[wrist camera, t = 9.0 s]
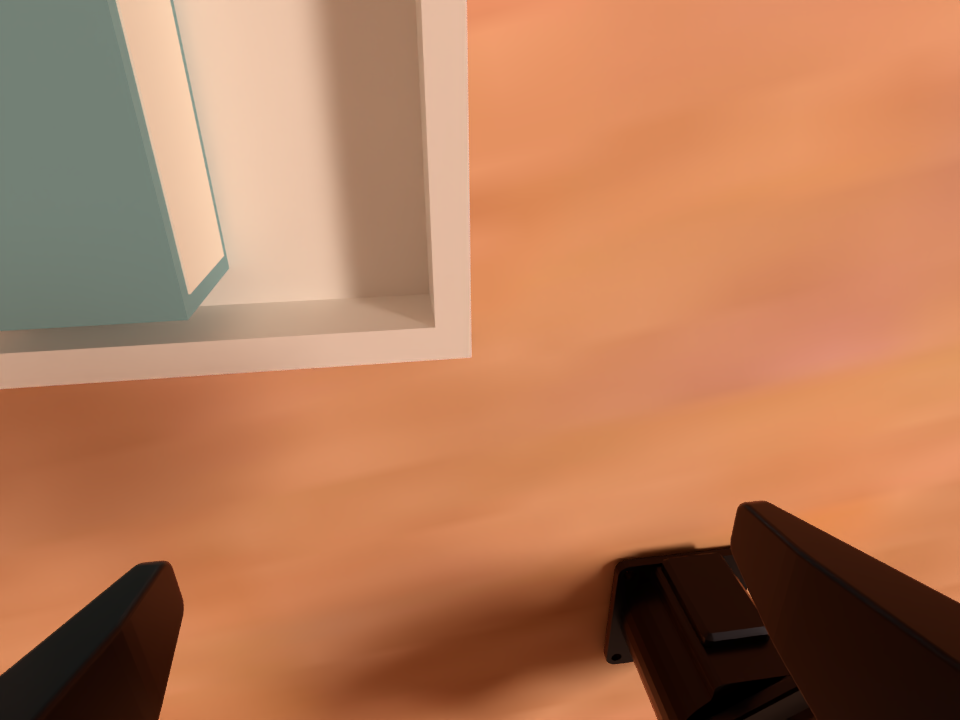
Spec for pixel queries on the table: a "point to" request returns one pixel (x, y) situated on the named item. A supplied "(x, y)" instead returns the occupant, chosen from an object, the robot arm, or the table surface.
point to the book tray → (309, 198)
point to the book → (101, 168)
